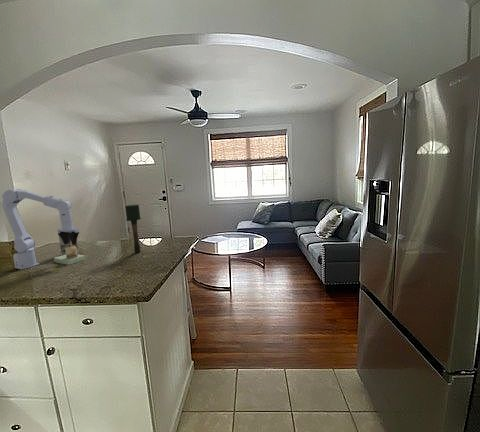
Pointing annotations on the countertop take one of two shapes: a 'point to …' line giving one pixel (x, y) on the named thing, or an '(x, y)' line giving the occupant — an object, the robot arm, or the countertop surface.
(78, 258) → the board
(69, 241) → the coffee box
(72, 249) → the peg
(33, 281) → the countertop surface
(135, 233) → the stick grenade
